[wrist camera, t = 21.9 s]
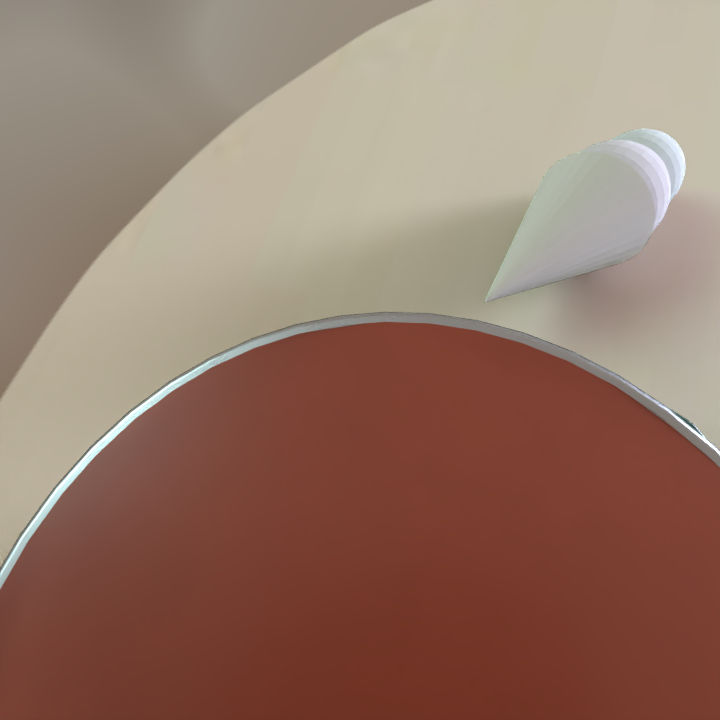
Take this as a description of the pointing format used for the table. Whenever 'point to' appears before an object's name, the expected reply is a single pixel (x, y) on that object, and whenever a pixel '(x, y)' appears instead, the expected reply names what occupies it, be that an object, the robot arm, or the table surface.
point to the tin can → (375, 541)
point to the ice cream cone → (593, 210)
